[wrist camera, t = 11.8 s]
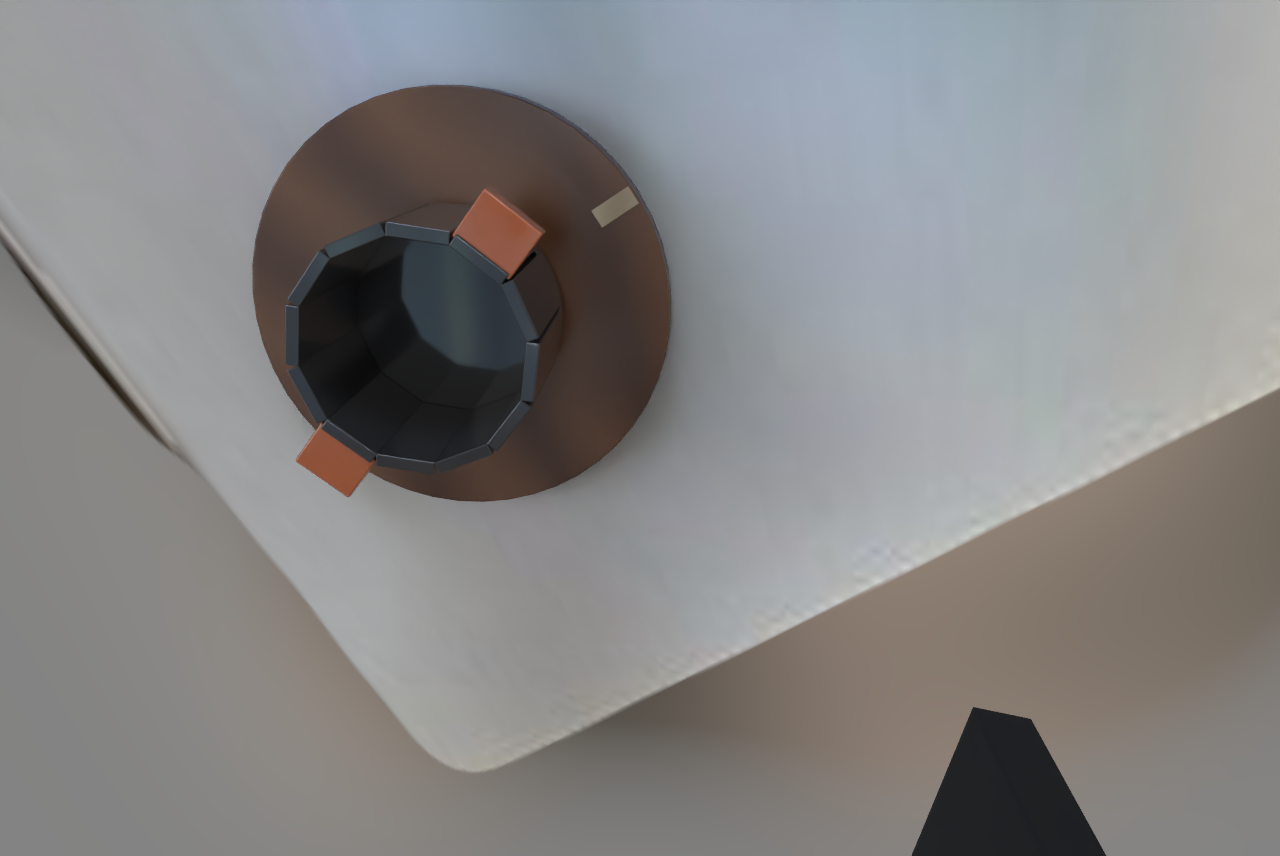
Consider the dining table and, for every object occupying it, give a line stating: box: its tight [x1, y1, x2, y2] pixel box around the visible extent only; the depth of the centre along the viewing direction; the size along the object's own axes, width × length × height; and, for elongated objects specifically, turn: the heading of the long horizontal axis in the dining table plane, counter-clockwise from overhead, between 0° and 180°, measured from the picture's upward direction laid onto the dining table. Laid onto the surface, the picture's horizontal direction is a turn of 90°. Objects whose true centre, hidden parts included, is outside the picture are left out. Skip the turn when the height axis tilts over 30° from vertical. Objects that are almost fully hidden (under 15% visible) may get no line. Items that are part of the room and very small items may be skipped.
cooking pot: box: [285, 187, 564, 497], centre depth 34 cm, size 9×13×7 cm
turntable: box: [253, 85, 671, 502], centre depth 38 cm, size 18×18×2 cm
